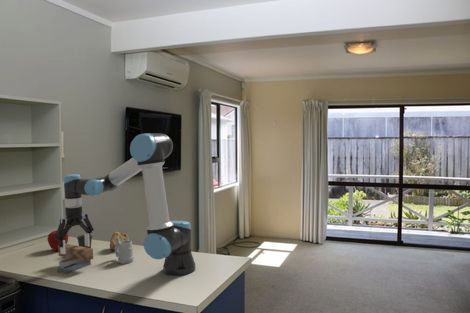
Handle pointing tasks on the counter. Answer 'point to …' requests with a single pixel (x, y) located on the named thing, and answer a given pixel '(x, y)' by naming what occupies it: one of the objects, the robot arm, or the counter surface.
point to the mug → (124, 251)
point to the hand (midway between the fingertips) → (75, 249)
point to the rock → (121, 236)
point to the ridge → (71, 265)
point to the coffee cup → (83, 241)
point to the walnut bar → (77, 252)
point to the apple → (53, 242)
